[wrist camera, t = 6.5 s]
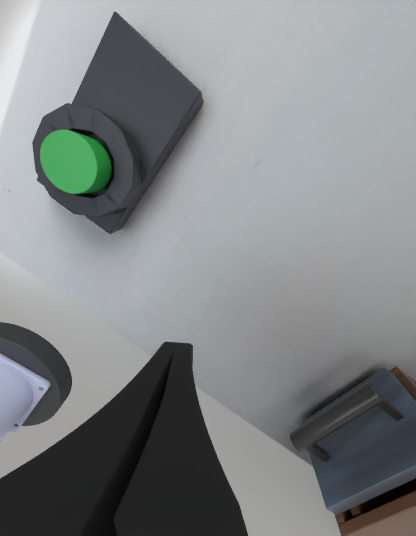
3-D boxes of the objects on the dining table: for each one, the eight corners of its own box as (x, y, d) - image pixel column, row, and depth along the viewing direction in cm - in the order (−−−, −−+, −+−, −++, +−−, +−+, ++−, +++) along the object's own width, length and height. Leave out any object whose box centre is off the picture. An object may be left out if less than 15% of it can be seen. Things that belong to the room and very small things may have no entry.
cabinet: (305, 426, 25) (341, 537, 17) (396, 366, 22) (495, 472, 14) (373, 473, 27) (433, 591, 19) (467, 425, 23) (589, 547, 16)
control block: (121, 229, 19) (99, 240, 15) (54, 180, 18) (15, 179, 14) (204, 102, 15) (199, 80, 12) (127, 30, 14) (98, -15, 11)
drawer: (272, 404, 23) (289, 487, 17) (355, 343, 20) (415, 417, 14) (365, 468, 26) (410, 560, 19) (452, 422, 22) (541, 516, 16)
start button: (96, 203, 15) (81, 205, 13) (52, 169, 14) (30, 168, 13) (121, 160, 14) (107, 157, 12) (75, 123, 13) (54, 114, 12)
